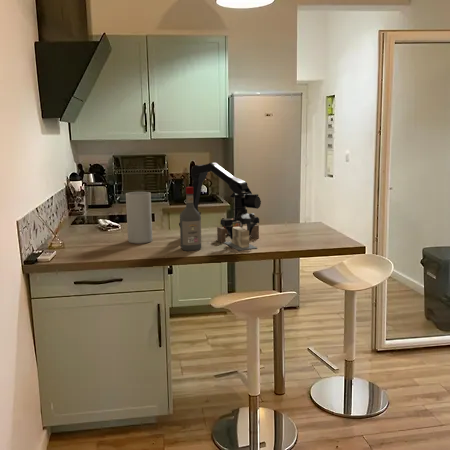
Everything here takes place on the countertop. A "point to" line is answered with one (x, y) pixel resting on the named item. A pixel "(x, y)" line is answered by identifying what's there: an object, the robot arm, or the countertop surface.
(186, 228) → the liquor
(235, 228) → the block
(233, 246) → the mat
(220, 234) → the holder
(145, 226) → the cylinder vase
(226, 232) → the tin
